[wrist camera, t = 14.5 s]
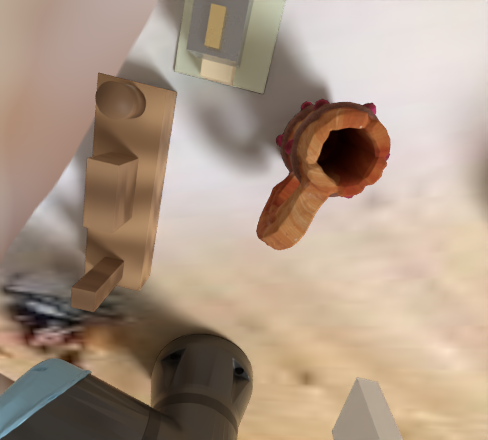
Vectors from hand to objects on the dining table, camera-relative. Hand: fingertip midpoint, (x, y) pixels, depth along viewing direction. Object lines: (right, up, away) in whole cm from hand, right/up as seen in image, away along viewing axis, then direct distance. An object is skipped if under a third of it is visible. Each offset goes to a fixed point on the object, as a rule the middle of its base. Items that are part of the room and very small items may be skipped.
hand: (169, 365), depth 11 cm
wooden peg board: (-11, +9, +28) cm, 31 cm away
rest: (+1, +25, +22) cm, 33 cm away
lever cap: (+1, +24, +18) cm, 30 cm away
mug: (+9, +12, +26) cm, 30 cm away
